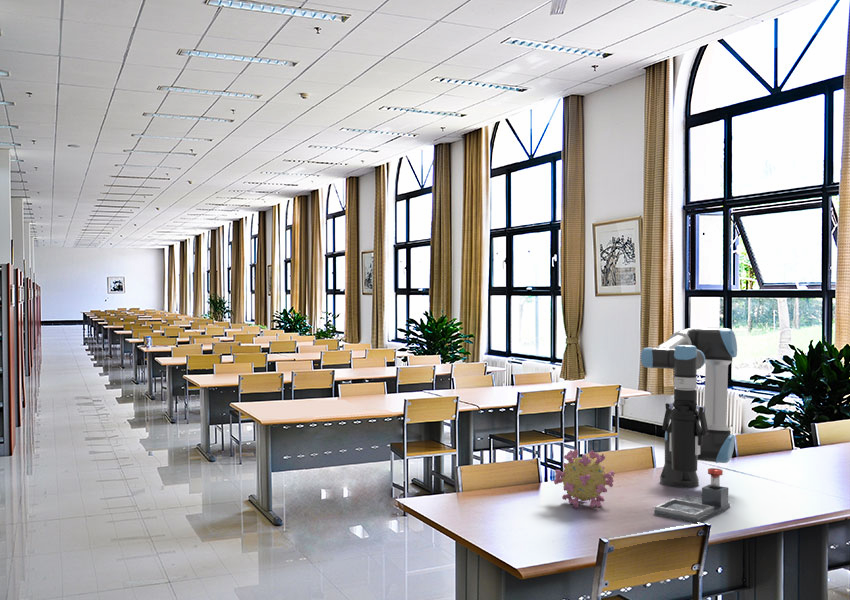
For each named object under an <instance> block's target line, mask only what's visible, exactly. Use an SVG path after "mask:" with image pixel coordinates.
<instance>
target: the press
mask: <svg viewBox="0 0 850 600" xmlns="http://www.w3.org/2000/svg"><path fill="white" fill-rule="evenodd" d="M730 508H731V503H729V487H726V486H721V485H720V489H719V490H718V489H712V488H711V483H710V484H707V485H705V486H703V487H701V497H698V496H692V495H685V496H683V497H681V498H679V499H678V498H671V499H669V500H667V501H663V502H662V503H659V504H658V505H655V506H654V511H653V513H654V514H653V515H655V516H659V517H664V518H669V519H674V520H680V521H683V522H687V523H688V522H689V523H693V524H698V523H697V522H701V523H702V522H705V521H706V520H708V519H710V518H713V517H714V516H716V515H718V514H719V513H722V512H724V511H726V510H727V509H730Z"/></svg>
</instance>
